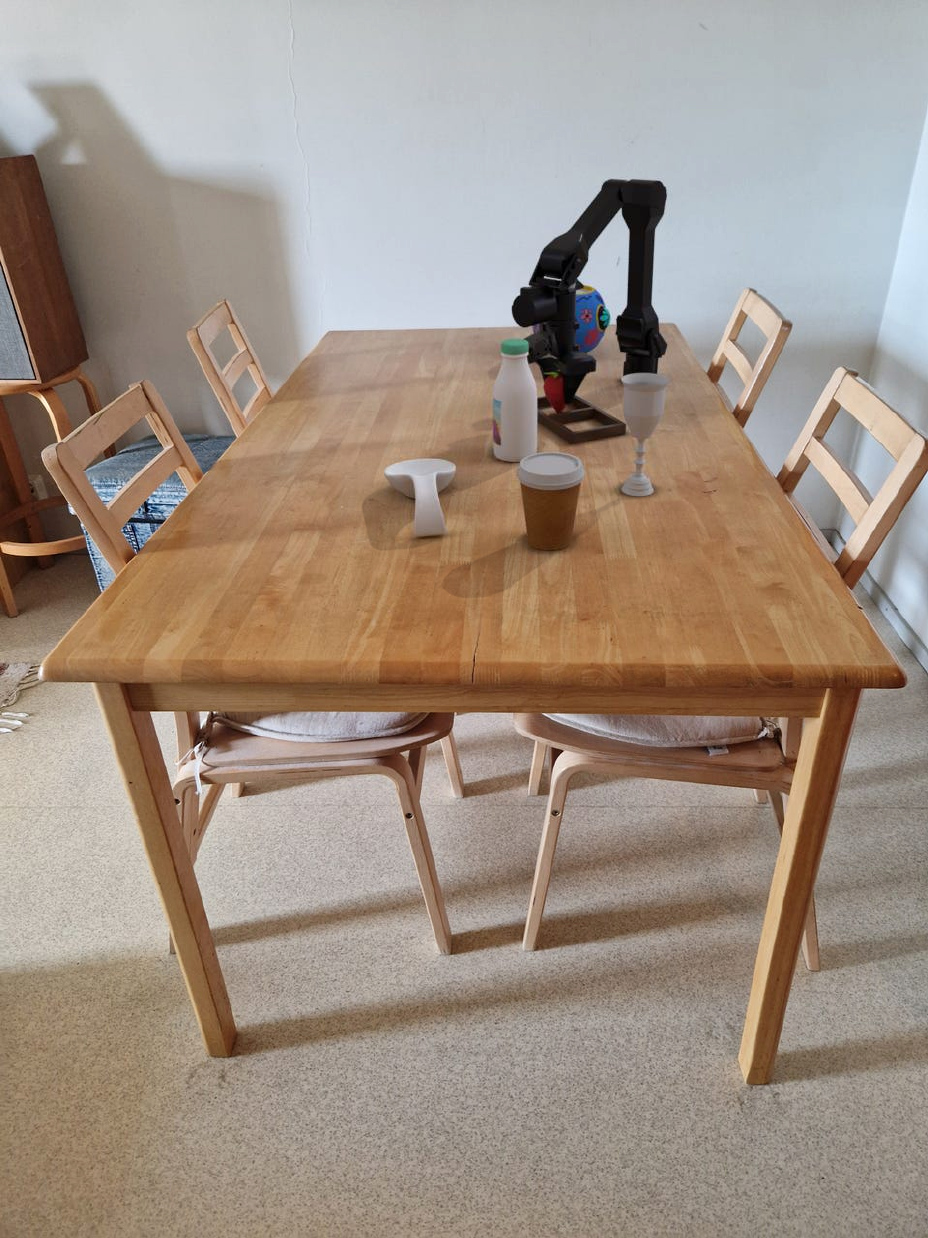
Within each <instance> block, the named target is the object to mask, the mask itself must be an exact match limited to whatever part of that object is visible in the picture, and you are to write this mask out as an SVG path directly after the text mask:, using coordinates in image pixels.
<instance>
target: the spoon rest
mask: <svg viewBox="0 0 928 1238" xmlns="http://www.w3.org/2000/svg"><path fill="white" fill-rule="evenodd" d="M456 471H457V465H456V464H455V463H453V462H451V461H449V460H446V459H441V458H418V459H417V458H416V459H408V460H403V461H399V462H396V463H393V464H390V465H389V466H387V467H386V468H385V469H384V471H383V476H384V477H385V479H386V480H387V482H388V483H389V484H390V486H392V487H393V488H394V489H395V490H397V491H399V492H400V493H402V494H403V495H404V496H406V497H407V498H410V499H414V500H415V503H414V504H415V505H414V506H415V507H414V520H413V521H414V522H413V524H414V525H413V534H414V536H415V537H425V536H437V535H438V536H439V535H444V534H446V533H447V528H446V524H445V523H446V522H445V518H444V514H443V511H442V507H441V503H440V499H439V493H440V492H442V491H443V490H445V488H447V487H448V486H449V484H451V482H452V480H453V479H454V477H455V474H456Z"/></svg>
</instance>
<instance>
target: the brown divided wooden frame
mask: <svg viewBox="0 0 928 1238" xmlns="http://www.w3.org/2000/svg"><path fill="white" fill-rule="evenodd" d="M569 405H571V406H572V407H574V408H575V409H573V410H568V411H562V412H561V413H556V412H555V413H550V414H546V413H545V412H544V411H542V410H541V409H542V408H548V407H552V406H551V405H550V403H549V401H548V400H547V398H546V396H545V395H544V396H543V395H542V396H537V423H539V424H540V425H542V426H543V427H545V428H546V429H548V430H549V431H551V432H552V433H553V434H555V435H557V436H558V437H559V438H561V439H563V440H564V441H566V442H567V443H569V444H570V445H576V444H581V443H586V442H590V441H597V440H602V439H607V438H613V437H619V436H623V435H626V433H627V432H626V431H627V423H626V422H624V421H622V420H620V419H618V418H616V417H615V416H613V415H611V414H610V413H608V412H606V411H604V410H603V409H601V408H599V407H598V406H595V405H594V404H592V403H591V402H589V401H587V400H585V399H584V398H581V397H580V396H579V395H576V394H575V396H574V398H573V400H572V402H571V403H570V404H569ZM592 419H594V420H596V421H597V422H599V423H601V424H603V426H597V427H592V428H586V429H581V430H575V431H573V430H572V429H571V428H569V427H567V426H566V425H564V424H570V423H575V422H580V421H581V422H582V421H586V420H592Z"/></svg>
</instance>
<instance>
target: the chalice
mask: <svg viewBox="0 0 928 1238" xmlns="http://www.w3.org/2000/svg"><path fill="white" fill-rule="evenodd" d="M620 379H621V380H620V381H621V383H622V386H623V403H622V412H623V416H624V420H625V424H626V426H627V428H628V430H629V432H630V434H631V436H632V438H634V439H636V440H637V445H636V448H635V449H634V451H635V453H636V457H635V459H634V460H633V463H634V465H635V470H634V471H633V473H631V474H630V475H629V476H627V478H626V481H625V482H624V485H623V486H622V487H621V492H622V493H623V494H625V495H628V496H632V497H646V496H650V495H652V494H653V493H654V488H653V486H652V483H651V478H649V476H648V475H647V474H645V473H644V472H643V466H644V465H645V463H646V460H645V459H644V455H645V452H646V451H647V450H646V448H645V440H646V439H649V438H651V437H652V435H653V434H654V432H655V430H656V429H657V428H658V425H660V423H661V422H660V421H661V419H662V417H663V415H664V413H665V401H666V391H667V390H666V389H667V387H668V385H669V383H670V382H671V379H670V378H669V377H668V376H666V375H663V374H658V373H657V374H653V373H634V374H628V375H625V376H623V375H622V376H621V377H620Z"/></svg>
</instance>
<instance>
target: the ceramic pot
mask: <svg viewBox="0 0 928 1238" xmlns="http://www.w3.org/2000/svg"><path fill="white" fill-rule="evenodd" d="M583 285H584V288H583V289H579V290H576V312H575V322H577V323H580V325H579V329H575V344H576V345H579V351H575V352H572V354H574V353H581V352H584V353H586V354H588V353H590V352H592V351H593V350H595V349H596V348H597V347H598V345H599V344H600V342H601V341H602V339H603V338H604V336H605V334H606V333H605V332H606V329H607V328H608V327H609V325H610V322H611V313H610V311H609V309H607V307H606V303H605V301H604V299H603V297H602V295H601V293H600V292H599V291H598V290H597V289H596V288H595V287H593V286H591V285H585V284H583ZM539 325H540V324H537V325H534V326H531V327H532V332H533V334H534V333H536V332H539Z"/></svg>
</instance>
